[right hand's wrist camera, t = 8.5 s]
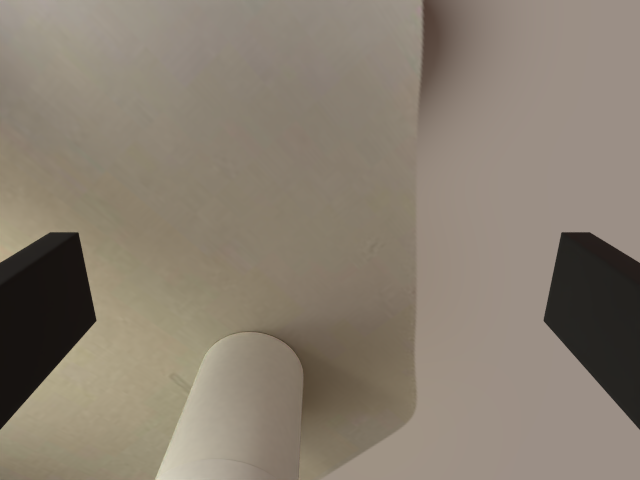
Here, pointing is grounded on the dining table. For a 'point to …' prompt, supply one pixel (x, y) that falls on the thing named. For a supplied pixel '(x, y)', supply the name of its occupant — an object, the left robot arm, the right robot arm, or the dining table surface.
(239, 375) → the jar
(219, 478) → the lid
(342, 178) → the dining table surface
